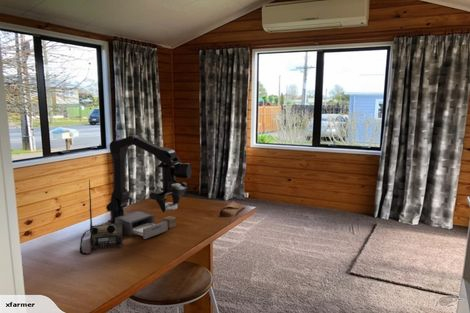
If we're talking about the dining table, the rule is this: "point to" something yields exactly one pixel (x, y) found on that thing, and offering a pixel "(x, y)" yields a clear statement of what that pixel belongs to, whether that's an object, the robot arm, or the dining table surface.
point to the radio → (103, 234)
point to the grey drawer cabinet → (134, 221)
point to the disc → (170, 206)
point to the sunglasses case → (232, 209)
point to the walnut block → (170, 221)
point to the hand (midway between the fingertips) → (169, 210)
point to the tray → (150, 229)
